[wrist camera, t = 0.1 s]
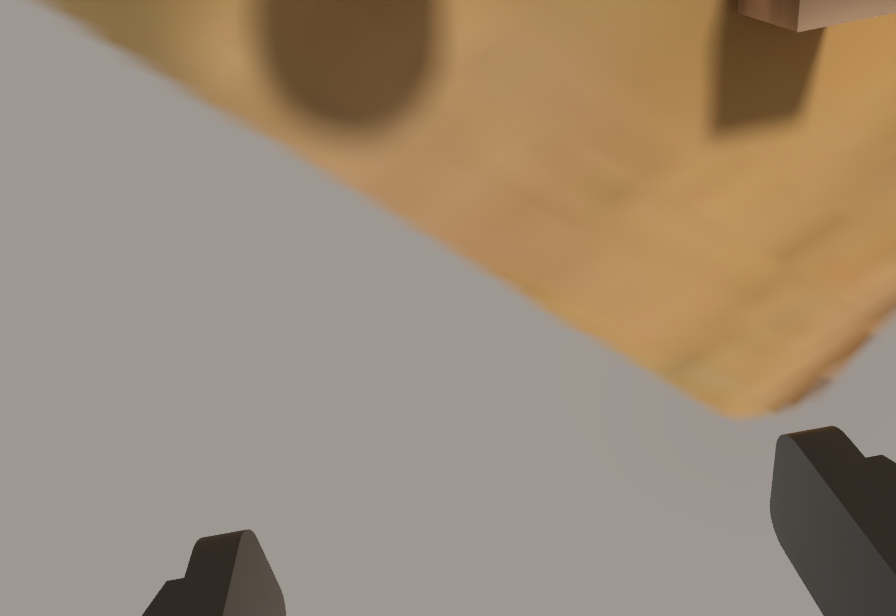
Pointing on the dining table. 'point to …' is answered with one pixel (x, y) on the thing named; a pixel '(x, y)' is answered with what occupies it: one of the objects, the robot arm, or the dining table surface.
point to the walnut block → (813, 12)
